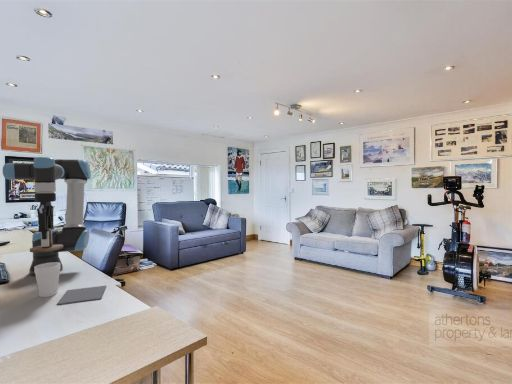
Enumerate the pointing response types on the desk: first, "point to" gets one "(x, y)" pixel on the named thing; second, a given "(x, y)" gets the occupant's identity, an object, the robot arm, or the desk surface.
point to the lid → (49, 248)
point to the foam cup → (47, 278)
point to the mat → (82, 295)
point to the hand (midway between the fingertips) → (46, 245)
